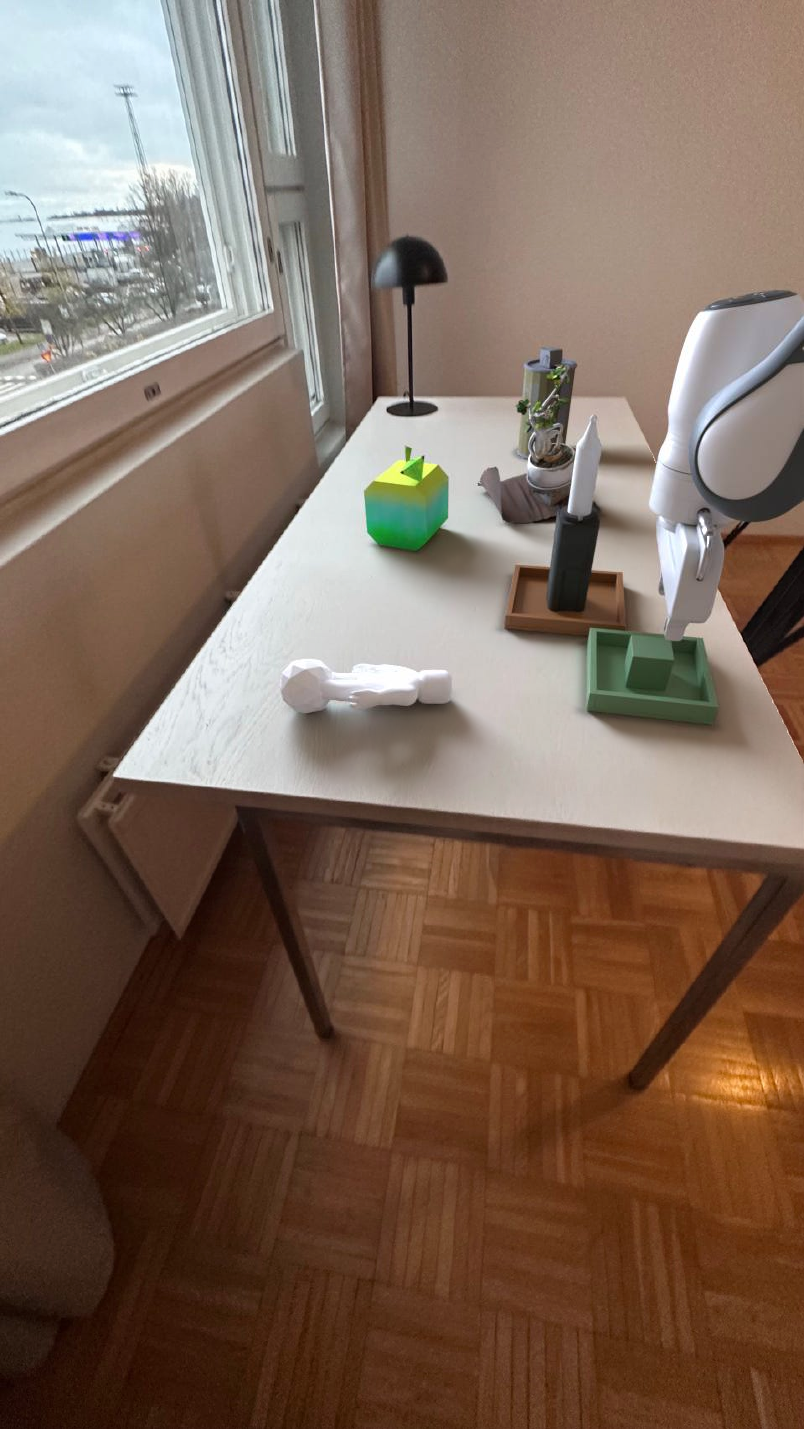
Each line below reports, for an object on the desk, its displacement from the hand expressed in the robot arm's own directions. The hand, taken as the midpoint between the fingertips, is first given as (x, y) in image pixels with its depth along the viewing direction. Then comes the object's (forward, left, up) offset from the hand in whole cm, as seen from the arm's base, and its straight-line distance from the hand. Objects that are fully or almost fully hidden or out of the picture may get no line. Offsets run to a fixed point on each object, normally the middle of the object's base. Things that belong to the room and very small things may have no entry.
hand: (668, 613), depth 70 cm
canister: (+18, -79, -10) cm, 81 cm away
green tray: (+1, 0, -10) cm, 10 cm away
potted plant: (+18, -52, -10) cm, 56 cm away
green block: (+1, 0, -9) cm, 9 cm away
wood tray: (+11, -16, -10) cm, 21 cm away
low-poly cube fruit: (+38, -35, -10) cm, 52 cm away
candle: (+11, -16, -9) cm, 21 cm away
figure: (+33, +10, -10) cm, 36 cm away
